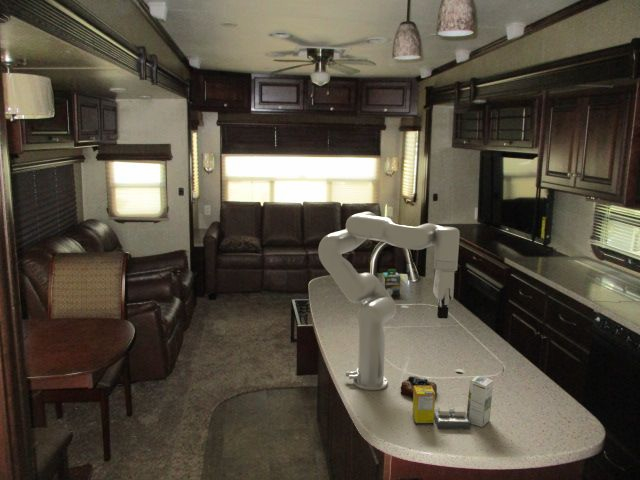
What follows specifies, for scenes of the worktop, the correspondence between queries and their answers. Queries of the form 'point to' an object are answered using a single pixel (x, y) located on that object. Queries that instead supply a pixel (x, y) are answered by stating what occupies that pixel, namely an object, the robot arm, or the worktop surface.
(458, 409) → the breaker paddles
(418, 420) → the supplement box
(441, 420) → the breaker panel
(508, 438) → the worktop surface
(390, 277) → the chalk box
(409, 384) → the pastry
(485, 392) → the syrup box
